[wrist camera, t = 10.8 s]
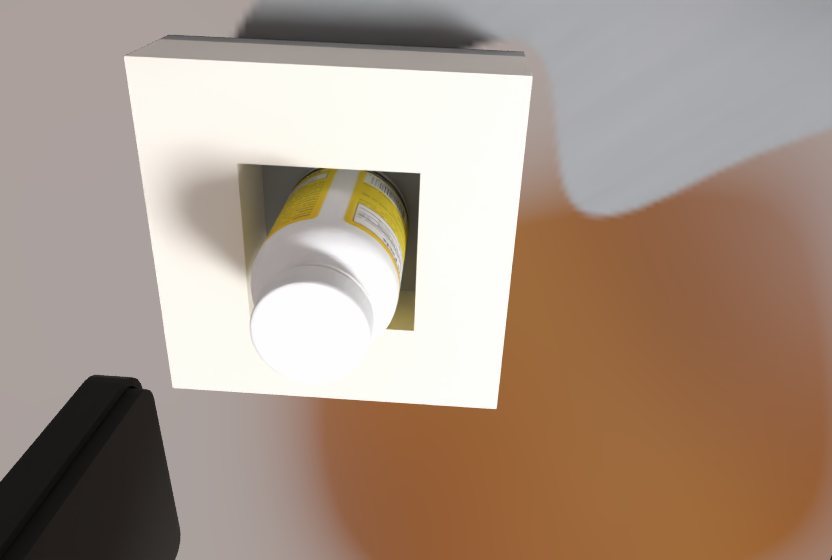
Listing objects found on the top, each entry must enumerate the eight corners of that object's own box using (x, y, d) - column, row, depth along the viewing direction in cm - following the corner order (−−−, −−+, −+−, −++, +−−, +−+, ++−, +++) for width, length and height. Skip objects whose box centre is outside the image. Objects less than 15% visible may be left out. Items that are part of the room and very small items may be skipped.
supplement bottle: (284, 259, 34) (222, 387, 25) (294, 147, 31) (228, 245, 22) (400, 279, 34) (378, 413, 25) (419, 169, 31) (403, 275, 22)
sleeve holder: (523, 51, 30) (532, 75, 26) (492, 352, 36) (496, 409, 32) (168, 34, 30) (123, 56, 26) (204, 334, 37) (172, 387, 33)
